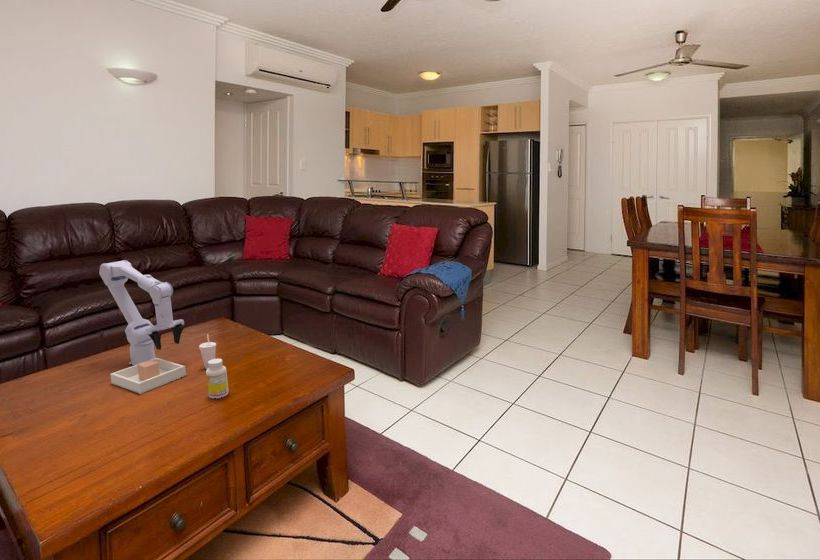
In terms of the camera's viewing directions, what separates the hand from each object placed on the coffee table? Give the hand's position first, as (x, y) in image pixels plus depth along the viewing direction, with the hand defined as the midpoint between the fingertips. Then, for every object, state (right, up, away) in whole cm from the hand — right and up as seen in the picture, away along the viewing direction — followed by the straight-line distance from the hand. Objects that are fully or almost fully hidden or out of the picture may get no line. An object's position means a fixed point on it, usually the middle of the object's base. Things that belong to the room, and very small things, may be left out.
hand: (168, 346), depth 183 cm
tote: (-2, -12, -9) cm, 15 cm away
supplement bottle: (+29, -14, -21) cm, 39 cm away
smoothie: (+16, -9, +3) cm, 18 cm away
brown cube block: (-2, -11, -9) cm, 14 cm away
